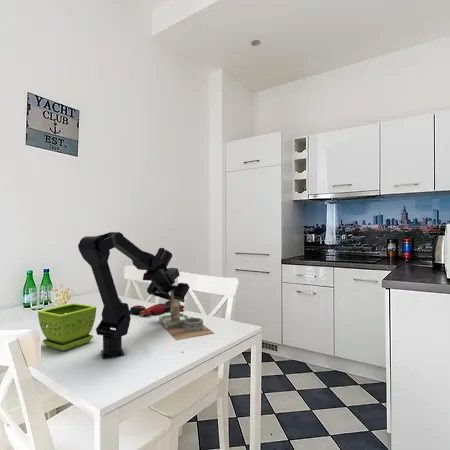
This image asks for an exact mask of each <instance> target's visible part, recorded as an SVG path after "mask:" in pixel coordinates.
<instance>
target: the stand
mask: <svg viewBox="0 0 450 450" xmlns="http://www.w3.org/2000/svg"><path fill="white" fill-rule="evenodd" d="M158 322H159V324H160V325H161V326H162V327H163V328H164V330H165V331H167V332H168V334H169V335H170V336H171V337H172V338H173V339H174V340H175V341H180V340H185V339H186V340H187V339H192V338H198V337H202V336H209V335H214V334H215V332H213V331H212V330H211V329H209V327H207V326H206V325H205V324H204V319H203V318H201V317H193V316H188V315H187V314H186V313H185V312H182V313H180V321H175V322H171V314H166V315H159V316H158Z"/></svg>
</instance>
